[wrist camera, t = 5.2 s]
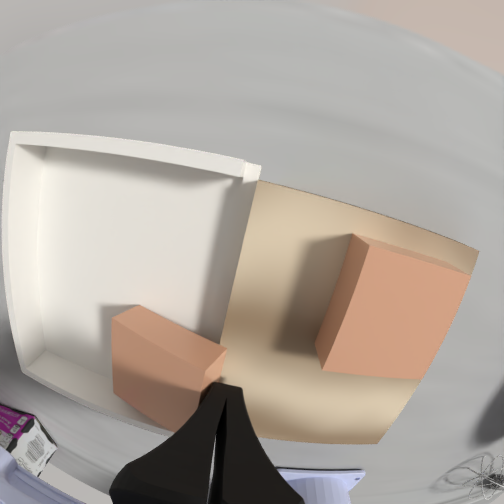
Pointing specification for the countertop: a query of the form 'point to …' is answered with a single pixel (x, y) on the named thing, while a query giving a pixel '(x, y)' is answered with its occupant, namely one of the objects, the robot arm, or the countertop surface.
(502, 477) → the kitchen whisk
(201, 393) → the terracotta tile
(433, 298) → the terracotta tile
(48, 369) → the bin
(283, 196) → the oak board
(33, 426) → the candy bar box
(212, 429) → the robot arm
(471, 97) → the countertop surface
